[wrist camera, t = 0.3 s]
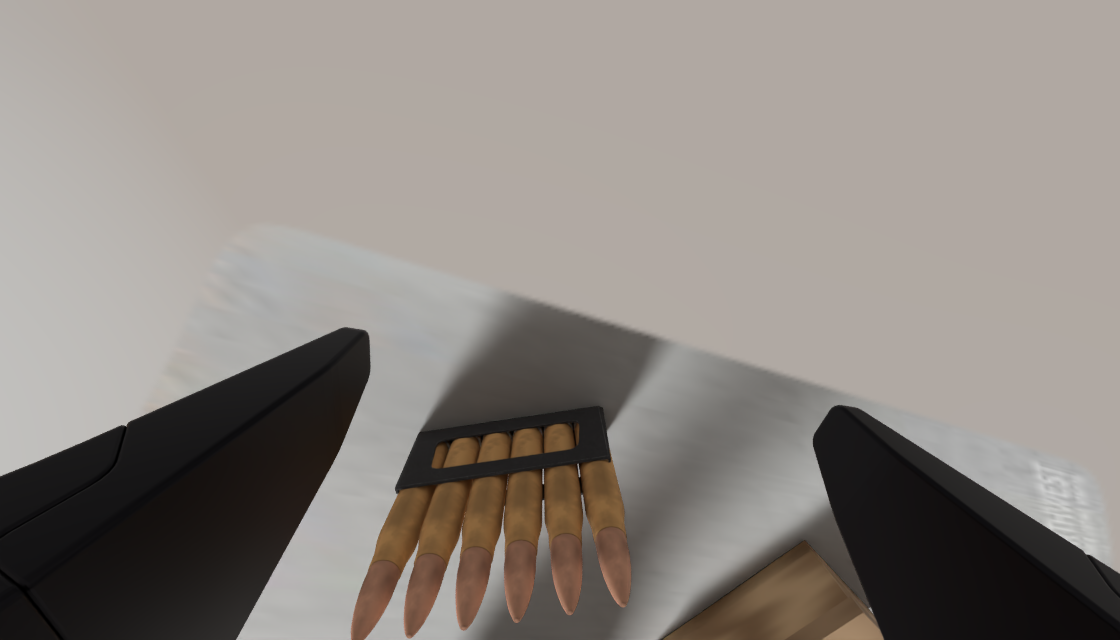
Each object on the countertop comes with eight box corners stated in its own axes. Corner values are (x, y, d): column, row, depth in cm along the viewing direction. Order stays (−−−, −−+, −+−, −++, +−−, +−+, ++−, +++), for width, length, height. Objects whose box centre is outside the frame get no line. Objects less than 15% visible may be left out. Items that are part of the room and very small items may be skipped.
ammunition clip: (602, 405, 26) (650, 579, 14) (606, 433, 26) (655, 623, 15) (417, 432, 26) (317, 627, 14) (425, 460, 26) (333, 670, 15)
